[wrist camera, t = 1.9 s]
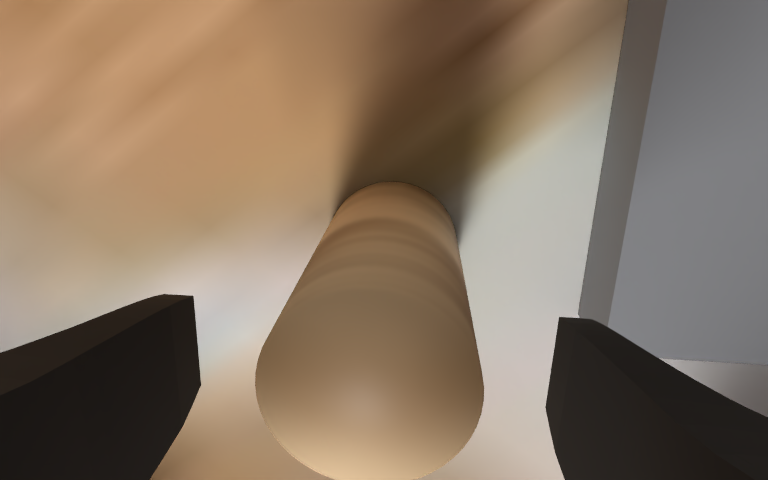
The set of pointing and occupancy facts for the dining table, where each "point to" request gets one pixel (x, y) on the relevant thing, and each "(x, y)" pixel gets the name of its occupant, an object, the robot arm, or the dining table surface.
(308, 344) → the peg
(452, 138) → the dining table surface
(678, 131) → the docking block
